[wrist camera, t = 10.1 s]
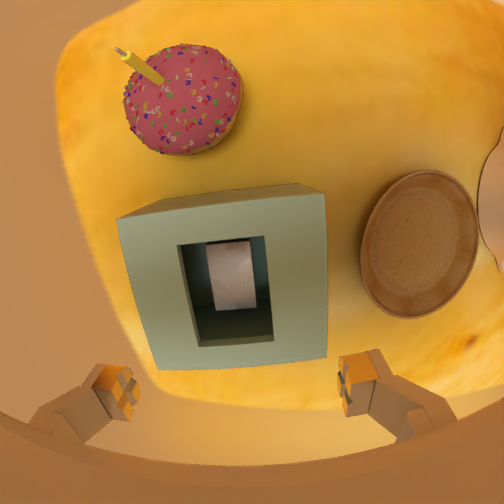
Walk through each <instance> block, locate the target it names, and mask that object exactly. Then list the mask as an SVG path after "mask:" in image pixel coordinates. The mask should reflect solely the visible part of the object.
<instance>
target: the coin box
mask: <svg viewBox="0 0 504 504" xmlns="http://www.w3.org/2000/svg"><path fill="white" fill-rule="evenodd" d="M116 222H117V227H118V232H119V237H120V242H121V246H122V251H123V255H124V260H125V264H126V268H127V272H128V276H129V280H130V284H131V287H132V291H133V295H134V298H135V302H136V305H137V309H138V312H139V315H140V319H141V322H142V325H143V328H144V331H145V334H146V337H147V340H148V343H149V346H150V349H151V352H152V355H153V358H154V360H155V363H156V366H157V369H158V370H207V369H227V368H242V367H254V366H265V365H275V364H284V363H292V362H300V361H307V360H314V359H320V358H327V333H328V259H327V230H326V211H325V195H324V193H322V192H319V191H316V190H314V189H311V188H309V187H306V186H304V185H301V184H298V183H297V184H285V185H275V186H264V187H255V188H246V189H237V190H229V191H221V192H213V193H205V194H198V195H191V196H184V197H178V198H171V199H165V200H159V201H157V202H154V203H152V204H150V205H147V206H145V207H143V208H140V209H138V210H136V211H134V212H131V213H129V214H127V215H125V216H123V217H120V218H118V219H116ZM245 237H251V243H252V253H253V262H254V272H255V284H256V305H257V307H256V308H245V309H232V310H219V311H216V308H215V303H214V297H213V291H212V284H211V278H210V272H209V266H208V259H207V252H206V244H207V242H209V241H218V240H227V239H236V238H245Z"/></svg>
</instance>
